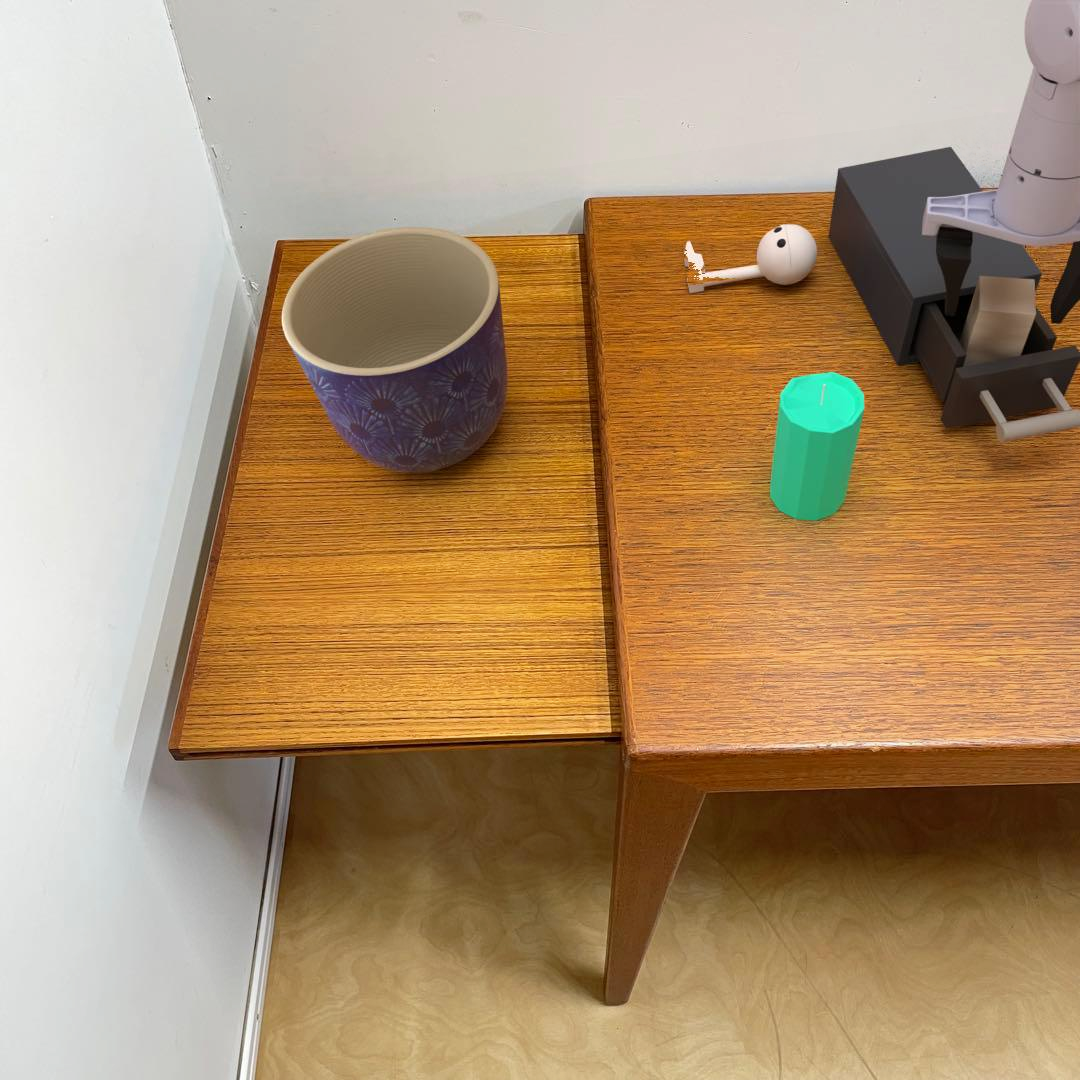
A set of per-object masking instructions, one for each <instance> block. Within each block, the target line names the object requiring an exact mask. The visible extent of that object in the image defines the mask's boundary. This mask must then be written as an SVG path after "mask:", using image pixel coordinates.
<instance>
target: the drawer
mask: <svg viewBox="0 0 1080 1080" xmlns="http://www.w3.org/2000/svg"><path fill="white" fill-rule="evenodd" d="M973 296H974V294H969V295H964V296H959V300H958V306H957V310H956V313H955V315H954V316H949V315H945V299H943V300H938V301H933V302H928V303H922V304H921V308H920V312H919V315H918V319H917V323H916V327H915V331H914V335H913V339H912V343H911V347H912V349H913V350H914V352H915V354H916V356H917V358H918V359H919V361H920V362H919V363H920V365H921V367H922V368H923V370H924V372H925V375H926V376H927V377H928V379H929V381H930V383H931V385H932V387H933V388H934V391H935V392H936V393H937V395H938V397H939V400H940V401H941V402H942V404H944V406H943V409H942V413H941V415H940V421H941V423H942V425H943V426H944V429H945V430H951V429H954V428H960V427H965V426H970V425H975V424H980V423H985V422H991V421H993V423H994V424H995V425H996V427H995V435H996V438H997V440H998V441H999V442H1001V443H1004V442H1009V441H1015V440H1020V439H1025V438H1030V437H1035V436H1036V437H1037V436H1041V435H1047V434H1052V433H1056V432H1062V431H1066V430H1072V429H1077V428H1080V409H1078V408H1074V409H1072V407H1071V406H1070V404H1069V403H1068V401H1067V399H1066V398H1065V396H1066V393H1067V391H1068V389H1069V386H1070V385H1071V382H1072V379H1073V377H1074V375H1075V373H1076V371H1077V368H1078V367H1079V364H1080V350H1079V348H1078V347H1077V345H1075V344H1074V345H1069V346H1064V347H1059V348H1054V347H1055V344H1056V341H1057V339H1058V336H1057V334H1056V333H1055V331H1054V330H1053V329H1052V327H1051V326H1050V325H1049V323H1048V322H1047V320H1046V319H1045V317H1044V316H1043V314H1042V313H1041V312H1040V310H1039V308H1038V307H1037V306H1036V316H1035V318H1034V321H1033V324H1032V326H1031V329H1030V332H1029V334H1028V337H1027V340H1026V342H1025V345H1024V348H1023V350H1022V353H1021V356H1017V357H1012V358H1007V359H1002V360H996V361H991V362H986V363H981V364H976V365H971V366H965V367H963V365H964V362H965V359H966V356H967V355H966V353H965V351H964V349H963V348H962V346H961V344H960V343H959V342H960V339H961V336H962V332H963V329H964V326H965V322H966V319H967V316H968V312H969V309H970V306H971V303H972V299H973ZM1053 409H1057V410H1058V412H1053V413H1048V414H1047V413H1046V414H1042V415H1037V416H1032V417H1027V418H1021V419H1018V420H1011V421H1007V418H1012V417H1016V416H1021V415H1028V414H1032V413H1037V412H1042V411H1049V410H1053Z"/></svg>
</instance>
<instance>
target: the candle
mask: <svg viewBox="0 0 1080 1080" xmlns="http://www.w3.org/2000/svg"><path fill="white" fill-rule="evenodd" d="M777 411H778V413H777V421H776V430H775V439H774V445H773V447H774V448H773V456H772V465H771V473H770V474H771V475H770V482H769V483H770V484H769V498H770V499H771V501H772V502H773V503H774V505H775V507H776V508H777V509H778V511H779V512H781V513H783V514H784V515H787V516H789V517H791V518H793V519H794V520H801V521H814V522H816V521H820V520H823V519H824V518H828V517H830V516H833V515H835V514H836V513H837V512H838V510H839V509H840V508H841V506H842V505H843V504H844V503H845V501H846V496H847V491H848V488H849V482H850V478H851V473H852V468H853V464H854V460H855V454H856V450H857V445H858V441H859V435H860V431H861V427H862V421H863V416H864V413H865V394H864V392H863V391H862V389H861V388H860V387H859V386H858V384H857V383H856V382H855V381H854V379H853V378H849V377H847V376H845V375H842V374H839V373H837V372H834V371H831V372H829V371H828V372H822V373H813V374H807V375H801V376H796V377H792V378H791V379H790V380H789V381H788V383H787V384H786V386H785V387H784V389H783V390H782V391H781V392H780V395H779V404H778V410H777Z"/></svg>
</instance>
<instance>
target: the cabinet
mask: <svg viewBox="0 0 1080 1080" xmlns="http://www.w3.org/2000/svg"><path fill="white" fill-rule="evenodd" d="M982 191H984V190H983V189H982V188H981V187H980V185H979V183H978V182H977V181H976V179H975V178H974V176H973V175H972V174H971V173H970V171H969V170H968V169H967V166H966V165H965V163H963V162H962V160H961V159H960V157H959V155H957V153H956V151H955V150H954V149H953V148H952V146H948V147H947V146H946V147H942V148H936V149H931V150H926V151H922V152H921V151H920V152H915V153H910V154H905V155H901V156H900V155H899V156H897V157H891V158H885V159H879V160H874V161H870V162H864V163H859V164H855V165H849V166H844V167H843V166H842V167H839V168H838V169H837V174H836V181H835V187H834V194H833V203H832V208H831V215H830V223H829V228H828V229H829V230H828V238H829V241H830V243H831V244H832V246H833V248H834V250H835V251H836V254H837V256H838V258H839V259H840V262H841V263H842V265H843V267H844V269H845V270H846V272H847V274H848V276H849V278H850V280H851V281H852V283H853V285H854V287H855V289H856V291H857V293H858V295H859V297H860V299H861V301H862V302H863V305H864V306H865V308H866V310H867V311H868V313H869V315H870V318H871V319H872V321H873V323H874V325H875V327H876V328H877V330H878V332H879V334H880V336H881V338H882V339H883V342H884V343H885V345H886V347H887V349H888V351H889V352H890V355H891V356H892V358H893V360H894V362H895V364H896V366H897V367H901V366H905V365H910V364H916V363H920V361H919V359H918V358H917V356H916V354H915V352H914V350H913V349H912V347H911V343H912V339H913V335H914V331H915V327H916V323H917V319H918V315H919V312H920V308H921V304H922V303H928V302H933V301H938V300H943V299H945V297H946V286H945V281H944V277H943V274H942V270H941V268H940V265H939V263H938V260H937V255H936V235H935V236H929V235H922V223H923V216H924V211H925V207H926V203H927V198H928V197H949V196H957V195H963V194H970V193H976V192H982ZM980 276H990V277H1005V278H1020V279H1034V280H1035V293H1037V289H1038V286H1039V285H1040V284H1039V283H1040V281H1041V278H1042V276H1043V272H1042V271H1041V269H1040V268H1039V267H1038V265H1037V264H1036V263H1035V261H1034V260H1033V258H1032V257H1031V256H1030V254H1029V253H1028V252H1027V250H1026V248H1025V247H1024V245H1021V244H1017V243H1013V242H1010V241H1006V240H1002V239H999V238H995V237H991V236H987V235H984V234H980V233H975V232H973V243H972V246H971V263H970V265H969V267H968V270H967V272H966V275H965V277H964V280H963V283H962V286H961V290H960V295H959V296H964V295H969V294H974V293H975V289H976V286H977V283H978V279H979V277H980Z"/></svg>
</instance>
